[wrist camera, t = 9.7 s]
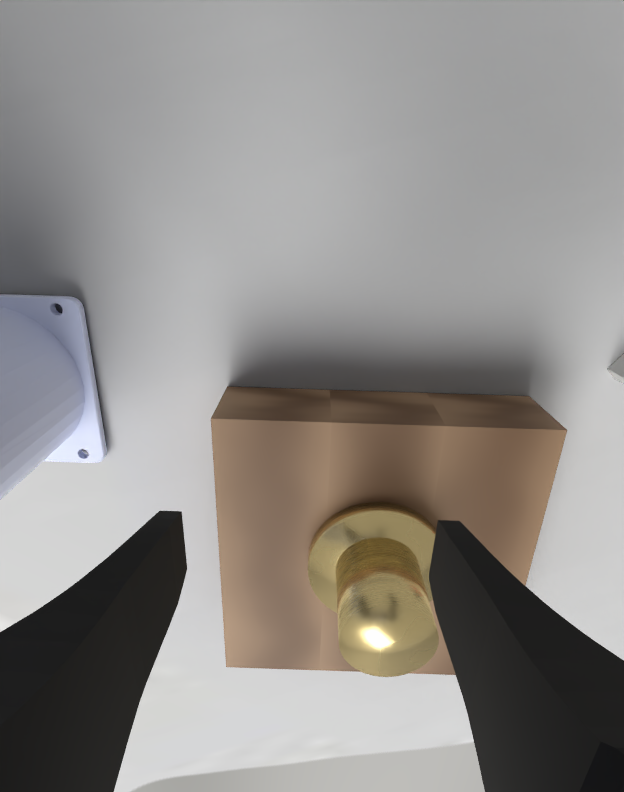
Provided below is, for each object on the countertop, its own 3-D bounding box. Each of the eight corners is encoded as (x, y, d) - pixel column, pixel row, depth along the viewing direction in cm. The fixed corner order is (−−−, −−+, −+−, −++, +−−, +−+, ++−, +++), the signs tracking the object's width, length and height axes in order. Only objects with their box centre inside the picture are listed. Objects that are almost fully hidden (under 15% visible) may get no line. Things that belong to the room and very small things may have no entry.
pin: (309, 561, 24) (305, 696, 18) (309, 464, 22) (305, 576, 15) (421, 563, 24) (461, 699, 18) (433, 465, 22) (484, 579, 15)
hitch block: (237, 610, 26) (226, 667, 23) (227, 386, 21) (211, 418, 18) (478, 619, 26) (500, 676, 23) (529, 396, 21) (567, 430, 18)
